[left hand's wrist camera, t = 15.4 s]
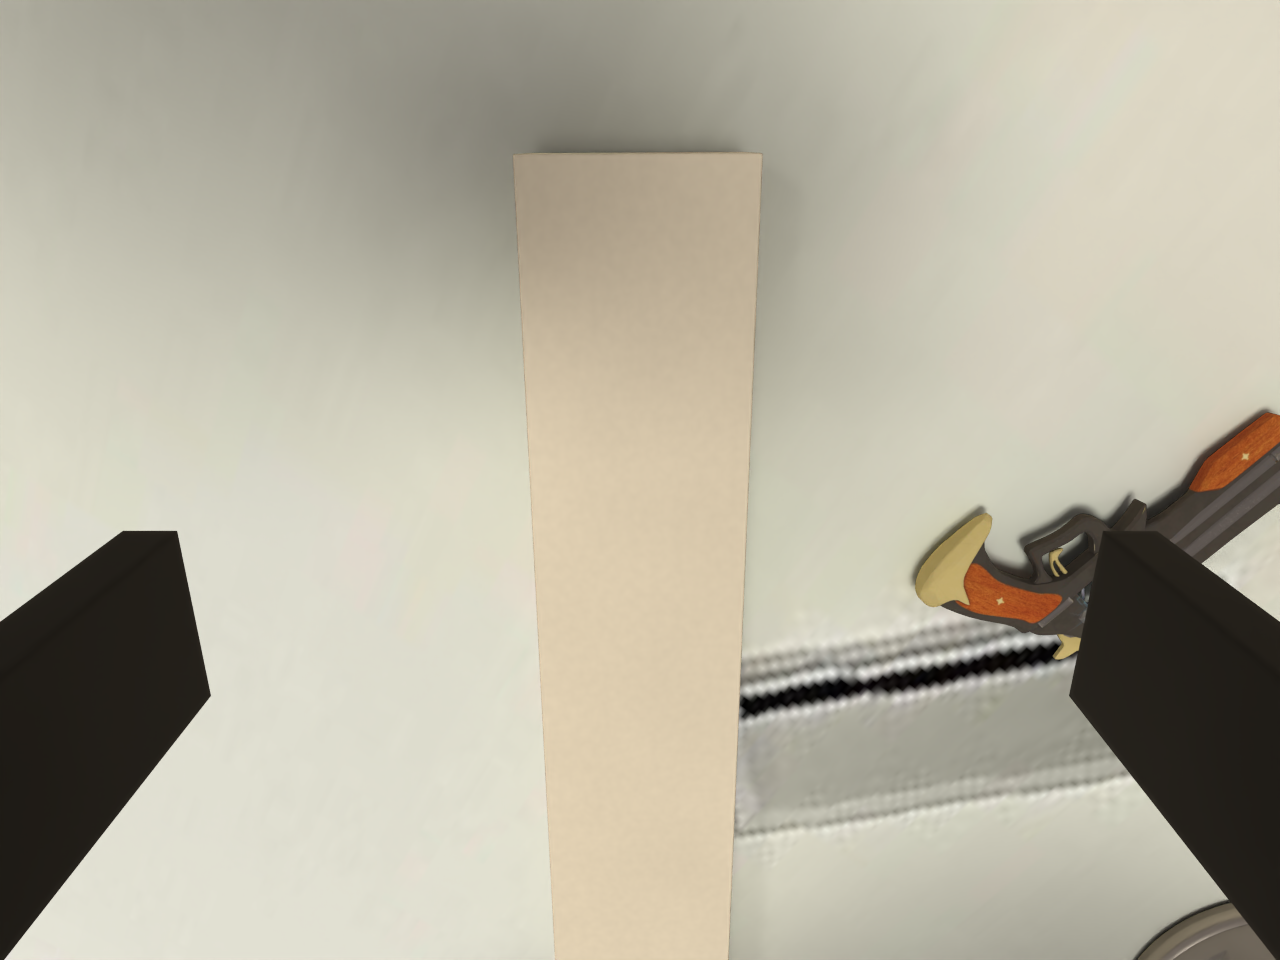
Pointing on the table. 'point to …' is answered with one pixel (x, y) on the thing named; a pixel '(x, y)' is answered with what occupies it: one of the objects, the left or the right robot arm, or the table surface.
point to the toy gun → (1048, 605)
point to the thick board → (639, 531)
